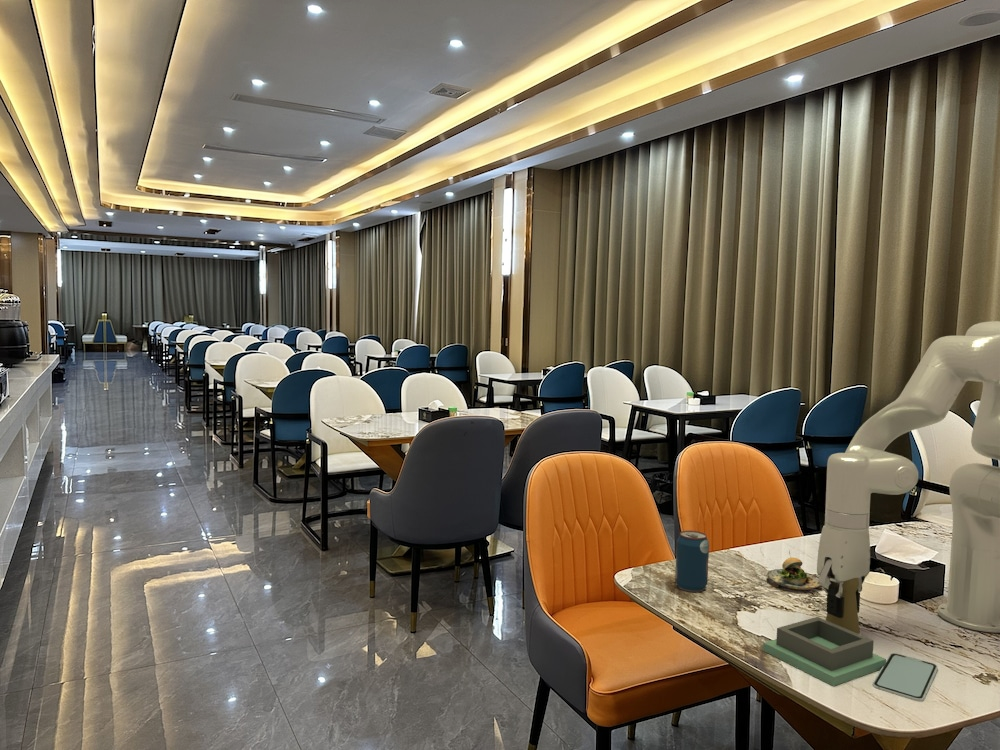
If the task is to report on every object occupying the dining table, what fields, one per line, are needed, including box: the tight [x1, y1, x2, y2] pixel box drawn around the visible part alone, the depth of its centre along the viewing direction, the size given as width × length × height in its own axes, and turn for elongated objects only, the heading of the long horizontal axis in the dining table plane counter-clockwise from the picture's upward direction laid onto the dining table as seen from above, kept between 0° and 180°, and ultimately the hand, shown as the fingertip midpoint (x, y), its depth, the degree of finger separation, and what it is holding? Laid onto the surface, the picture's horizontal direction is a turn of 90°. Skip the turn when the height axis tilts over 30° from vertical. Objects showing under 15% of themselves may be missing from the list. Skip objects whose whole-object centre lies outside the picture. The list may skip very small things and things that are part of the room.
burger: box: [766, 550, 822, 591], centre depth 161 cm, size 12×12×8 cm
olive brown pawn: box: [825, 575, 861, 634], centre depth 136 cm, size 6×6×11 cm
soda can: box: [674, 530, 710, 593], centre depth 157 cm, size 7×7×12 cm
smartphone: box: [872, 652, 939, 702], centre depth 119 cm, size 7×1×15 cm
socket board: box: [762, 616, 887, 687], centre depth 124 cm, size 14×14×4 cm
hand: (842, 611), depth 136 cm, fingers closed on olive brown pawn, 4 cm apart
